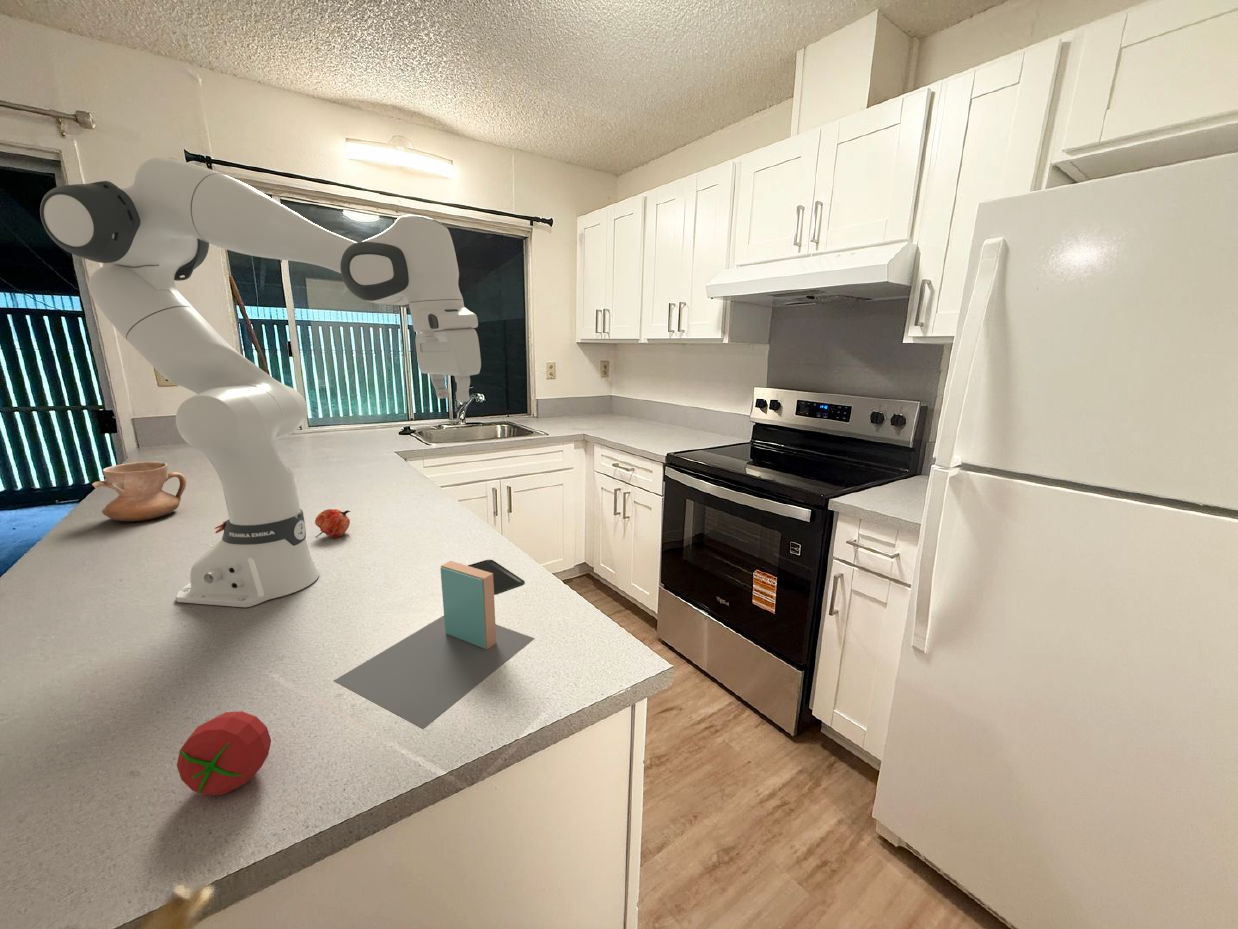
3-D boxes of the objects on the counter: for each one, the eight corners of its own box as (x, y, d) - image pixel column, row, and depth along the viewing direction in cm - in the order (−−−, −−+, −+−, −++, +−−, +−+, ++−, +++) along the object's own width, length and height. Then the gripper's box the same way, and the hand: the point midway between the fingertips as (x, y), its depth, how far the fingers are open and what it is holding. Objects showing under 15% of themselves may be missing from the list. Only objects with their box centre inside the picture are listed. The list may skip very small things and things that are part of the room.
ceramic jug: (105, 531, 120) (93, 476, 117) (96, 518, 129) (85, 466, 126) (198, 514, 134) (189, 465, 131) (184, 503, 143) (176, 456, 140)
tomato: (239, 685, 55) (187, 724, 47) (298, 723, 56) (256, 768, 48) (193, 742, 54) (134, 791, 47) (253, 779, 55) (205, 833, 48)
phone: (490, 558, 107) (526, 582, 97) (490, 563, 108) (527, 587, 97) (456, 568, 102) (490, 595, 91) (456, 573, 102) (491, 600, 92)
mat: (454, 612, 87) (454, 609, 87) (534, 641, 78) (534, 638, 78) (334, 684, 68) (333, 680, 68) (423, 732, 60) (423, 728, 59)
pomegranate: (318, 552, 116) (351, 526, 116) (296, 529, 115) (330, 503, 115) (332, 543, 124) (364, 519, 124) (312, 521, 122) (344, 497, 122)
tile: (455, 627, 81) (450, 560, 78) (496, 642, 77) (493, 573, 74) (444, 634, 79) (439, 566, 76) (486, 650, 75) (482, 579, 72)
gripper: (401, 323, 89) (416, 398, 93) (443, 317, 74) (458, 406, 78) (435, 322, 93) (447, 393, 97) (481, 315, 78) (494, 400, 82)
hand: (452, 399), depth 87 cm, fingers open, 8 cm apart
